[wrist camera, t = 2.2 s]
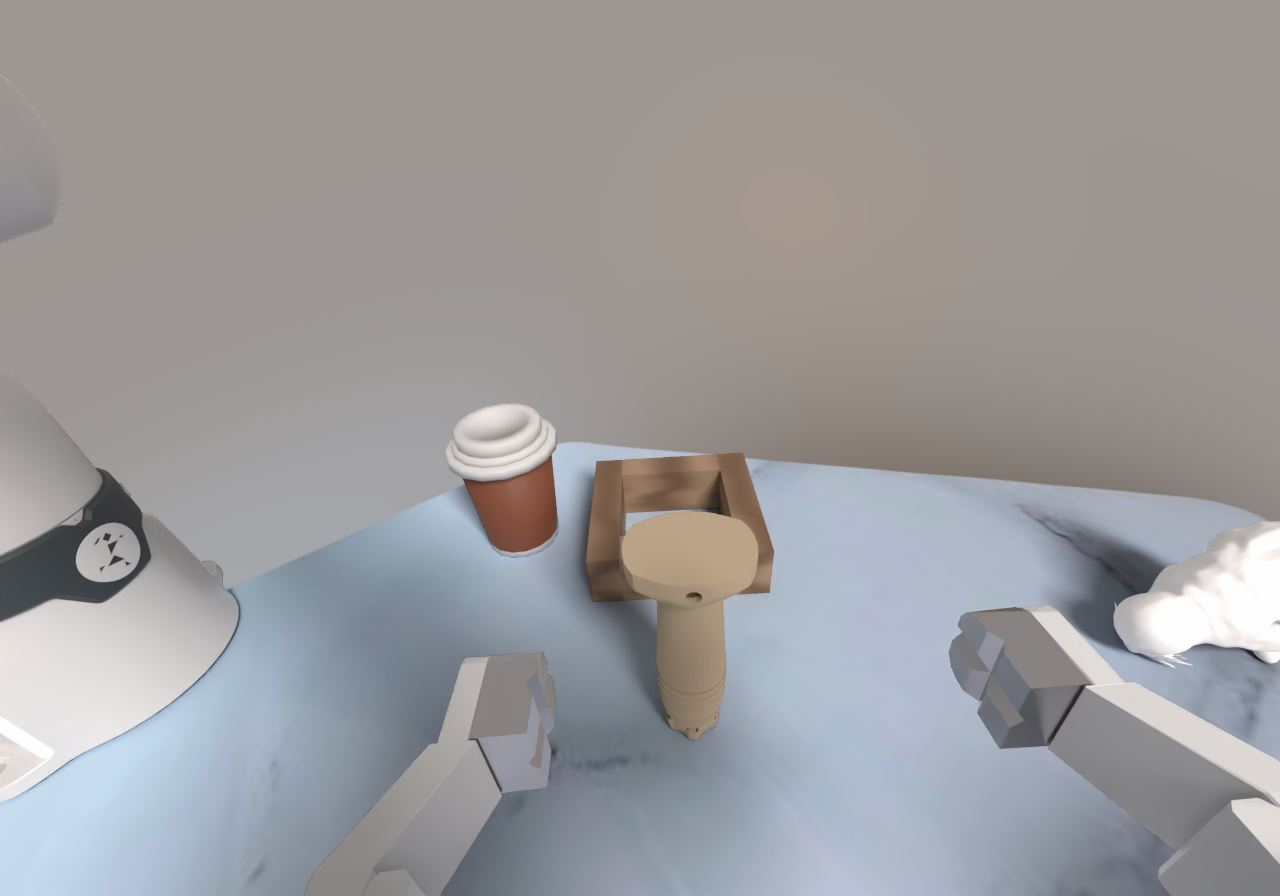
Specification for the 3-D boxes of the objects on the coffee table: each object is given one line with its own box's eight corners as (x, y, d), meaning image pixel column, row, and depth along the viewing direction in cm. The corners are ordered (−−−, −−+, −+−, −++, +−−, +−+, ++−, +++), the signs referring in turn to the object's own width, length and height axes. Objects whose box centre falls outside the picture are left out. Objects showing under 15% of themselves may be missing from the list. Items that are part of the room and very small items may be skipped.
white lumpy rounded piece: (1415, 564, 28) (1222, 621, 27) (1322, 654, 33) (1156, 705, 32) (1275, 494, 33) (1109, 540, 32) (1212, 580, 38) (1067, 623, 37)
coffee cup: (582, 502, 51) (564, 396, 44) (559, 571, 43) (534, 456, 37) (495, 500, 52) (465, 396, 46) (459, 567, 45) (417, 454, 38)
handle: (641, 682, 35) (623, 515, 26) (736, 679, 34) (748, 508, 26) (641, 758, 31) (619, 588, 22) (749, 754, 30) (767, 582, 22)
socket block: (592, 601, 40) (585, 561, 38) (601, 497, 51) (596, 461, 49) (769, 592, 40) (774, 551, 38) (740, 489, 51) (742, 452, 48)
